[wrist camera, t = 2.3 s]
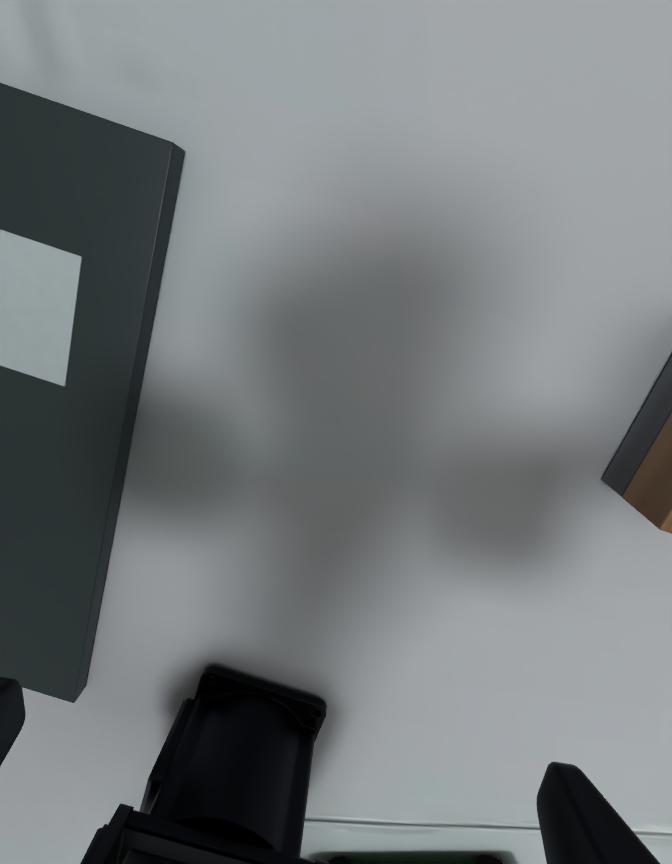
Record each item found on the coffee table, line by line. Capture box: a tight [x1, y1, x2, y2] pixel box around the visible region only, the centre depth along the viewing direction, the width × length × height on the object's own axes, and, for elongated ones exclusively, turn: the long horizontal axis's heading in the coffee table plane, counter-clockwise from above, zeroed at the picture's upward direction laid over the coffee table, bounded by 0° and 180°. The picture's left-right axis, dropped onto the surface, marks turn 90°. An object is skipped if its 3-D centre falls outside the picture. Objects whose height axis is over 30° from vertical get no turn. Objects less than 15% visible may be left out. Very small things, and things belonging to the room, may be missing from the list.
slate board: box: [0, 83, 184, 703], centre depth 19 cm, size 10×26×1 cm, turn 162°
